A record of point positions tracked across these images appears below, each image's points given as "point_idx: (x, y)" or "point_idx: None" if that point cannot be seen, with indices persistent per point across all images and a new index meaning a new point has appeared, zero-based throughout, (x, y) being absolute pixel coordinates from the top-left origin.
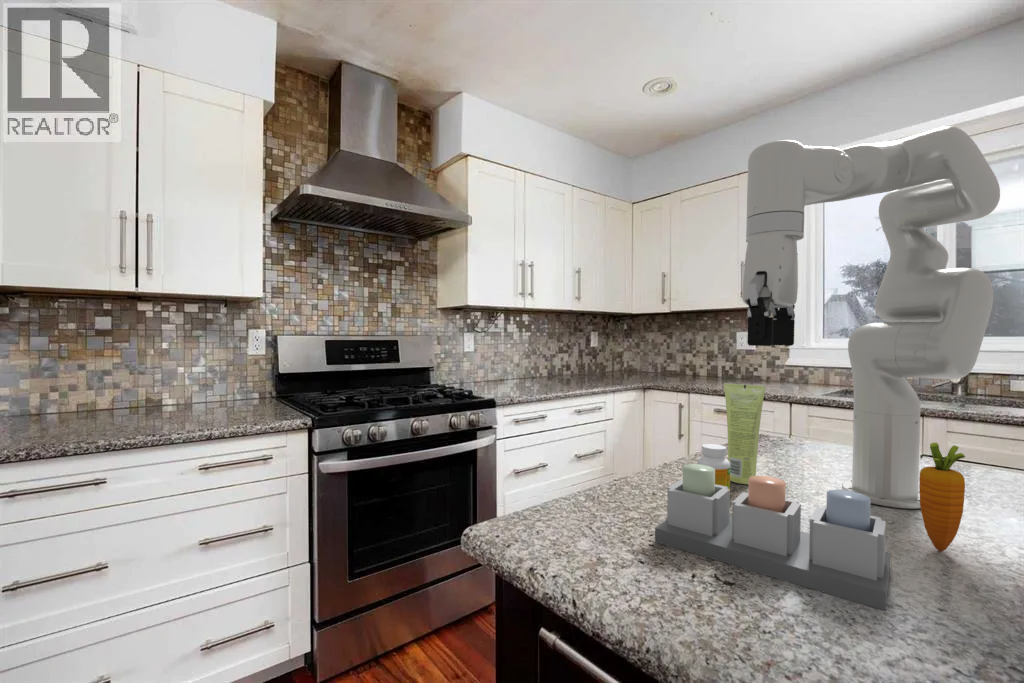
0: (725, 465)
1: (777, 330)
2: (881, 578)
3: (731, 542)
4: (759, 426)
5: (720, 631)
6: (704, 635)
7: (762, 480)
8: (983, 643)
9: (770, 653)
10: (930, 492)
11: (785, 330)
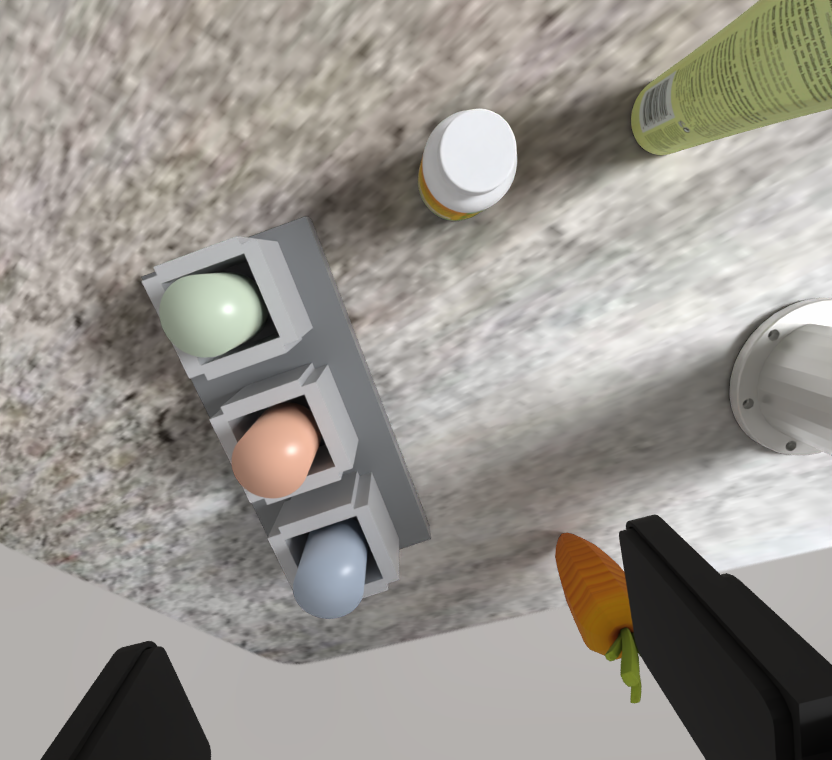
0: (463, 210)
1: (690, 658)
2: None
3: (230, 395)
4: (811, 113)
5: (60, 501)
6: (34, 497)
7: (263, 457)
8: (322, 640)
9: (84, 550)
10: (572, 600)
11: (698, 716)
